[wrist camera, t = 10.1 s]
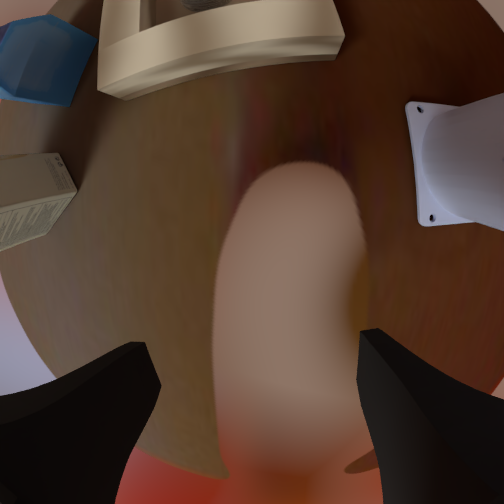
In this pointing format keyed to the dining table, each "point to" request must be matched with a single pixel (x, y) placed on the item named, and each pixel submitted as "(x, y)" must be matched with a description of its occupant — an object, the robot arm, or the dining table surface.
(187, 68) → the socket block
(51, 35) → the perfume bottle
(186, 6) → the metal pin
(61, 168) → the skincare box
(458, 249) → the dining table surface
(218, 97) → the dining table surface
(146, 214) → the dining table surface
